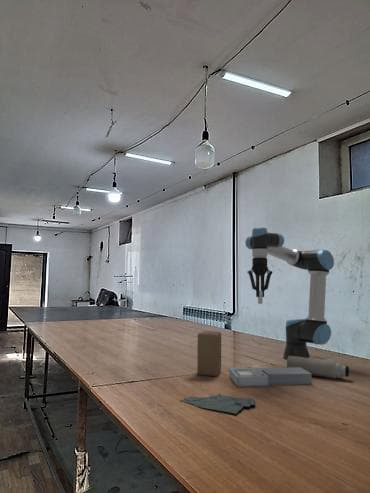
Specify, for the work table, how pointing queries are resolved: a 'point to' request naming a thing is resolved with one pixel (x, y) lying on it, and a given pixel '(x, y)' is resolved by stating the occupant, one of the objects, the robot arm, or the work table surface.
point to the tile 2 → (256, 370)
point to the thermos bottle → (319, 367)
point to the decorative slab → (222, 403)
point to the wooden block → (209, 353)
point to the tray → (248, 378)
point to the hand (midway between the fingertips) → (260, 303)
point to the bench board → (288, 375)
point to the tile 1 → (245, 374)
